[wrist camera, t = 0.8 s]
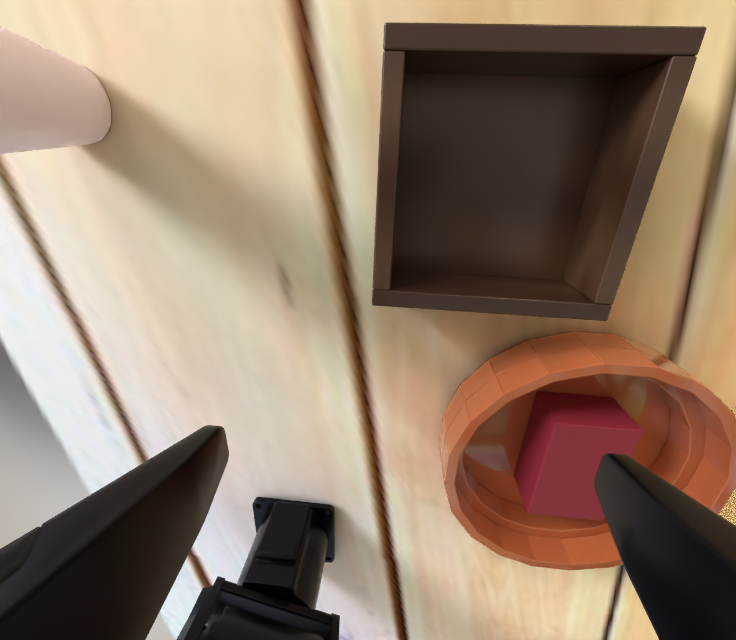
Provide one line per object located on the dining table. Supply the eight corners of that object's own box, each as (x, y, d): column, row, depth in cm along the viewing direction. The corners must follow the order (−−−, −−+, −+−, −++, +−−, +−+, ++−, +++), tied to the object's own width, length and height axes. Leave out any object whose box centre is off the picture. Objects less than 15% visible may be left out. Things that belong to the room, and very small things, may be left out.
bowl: (637, 523, 26) (675, 582, 22) (428, 502, 27) (432, 554, 23) (731, 338, 20) (806, 378, 16) (455, 319, 21) (466, 352, 17)
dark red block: (580, 481, 24) (603, 521, 21) (512, 474, 24) (526, 513, 22) (613, 396, 21) (644, 431, 19) (536, 390, 22) (555, 423, 19)
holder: (569, 292, 20) (607, 322, 16) (377, 280, 20) (371, 305, 17) (635, 58, 15) (708, 25, 12) (388, 54, 16) (384, 21, 12)
